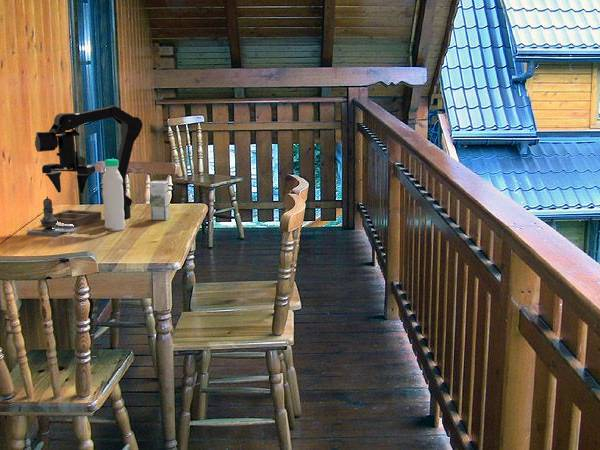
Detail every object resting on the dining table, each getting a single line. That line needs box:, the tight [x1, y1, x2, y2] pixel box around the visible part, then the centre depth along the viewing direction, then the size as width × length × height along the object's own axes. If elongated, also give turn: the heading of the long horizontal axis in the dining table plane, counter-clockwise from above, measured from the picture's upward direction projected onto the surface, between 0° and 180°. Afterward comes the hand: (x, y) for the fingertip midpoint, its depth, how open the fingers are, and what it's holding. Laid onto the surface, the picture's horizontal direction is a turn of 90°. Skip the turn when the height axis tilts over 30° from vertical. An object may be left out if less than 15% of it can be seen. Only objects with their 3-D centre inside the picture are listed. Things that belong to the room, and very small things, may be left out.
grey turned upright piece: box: [39, 196, 57, 232], centre depth 289 cm, size 6×6×12 cm
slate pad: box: [26, 229, 68, 237], centre depth 290 cm, size 12×8×1 cm
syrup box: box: [149, 180, 170, 221], centre depth 312 cm, size 6×6×14 cm
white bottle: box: [101, 158, 126, 232], centre depth 293 cm, size 7×7×25 cm
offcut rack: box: [41, 209, 102, 228], centre depth 303 cm, size 14×16×4 cm
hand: (70, 192), depth 297 cm, fingers open, 9 cm apart
